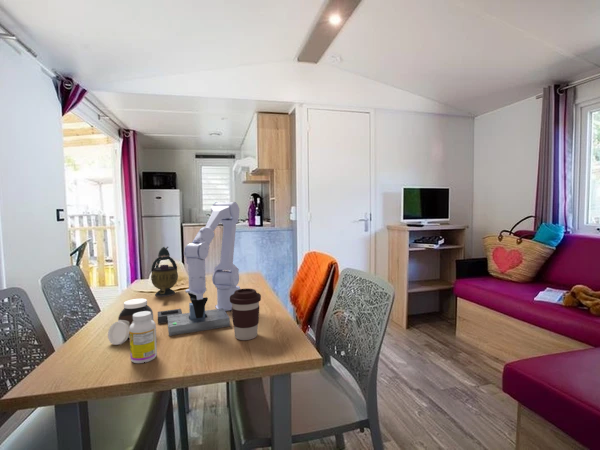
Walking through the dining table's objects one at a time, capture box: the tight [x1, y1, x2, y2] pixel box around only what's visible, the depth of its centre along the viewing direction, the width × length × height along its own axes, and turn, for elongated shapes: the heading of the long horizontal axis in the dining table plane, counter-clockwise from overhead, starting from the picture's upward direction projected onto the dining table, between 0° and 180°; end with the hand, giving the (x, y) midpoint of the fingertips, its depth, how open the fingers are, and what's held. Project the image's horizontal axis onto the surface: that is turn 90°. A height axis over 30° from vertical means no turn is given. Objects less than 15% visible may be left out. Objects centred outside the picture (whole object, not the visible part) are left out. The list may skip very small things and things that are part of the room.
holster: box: [157, 308, 183, 324], centre depth 122 cm, size 8×6×2 cm
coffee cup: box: [230, 288, 262, 341], centre depth 105 cm, size 10×10×15 cm
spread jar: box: [107, 297, 155, 346], centre depth 104 cm, size 12×11×12 cm
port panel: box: [167, 308, 231, 337], centre depth 116 cm, size 20×12×3 cm, turn 114°
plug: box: [188, 302, 206, 320], centre depth 115 cm, size 5×3×8 cm, turn 114°
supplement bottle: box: [129, 311, 158, 364], centre depth 90 cm, size 7×7×13 cm
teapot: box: [150, 246, 179, 298], centre depth 153 cm, size 12×25×23 cm, turn 18°
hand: (198, 314), depth 116 cm, fingers open, 7 cm apart
